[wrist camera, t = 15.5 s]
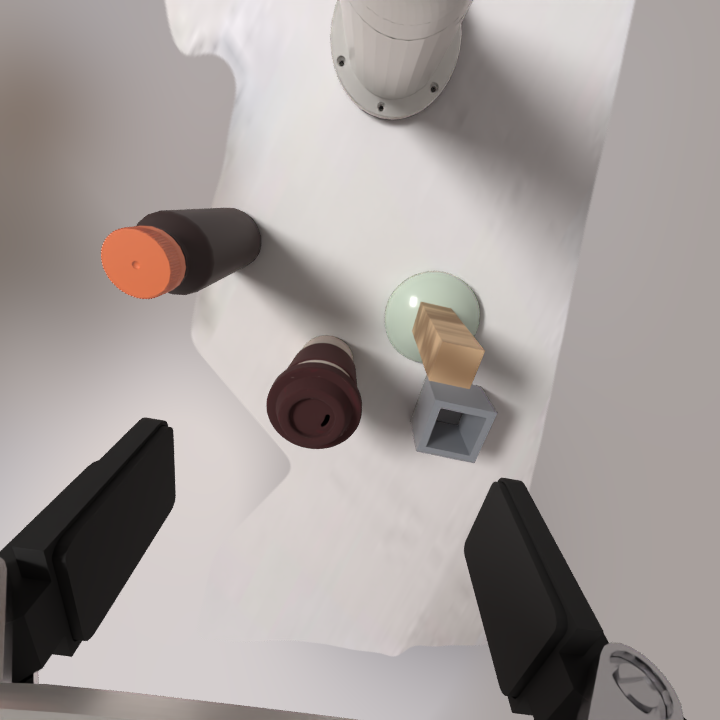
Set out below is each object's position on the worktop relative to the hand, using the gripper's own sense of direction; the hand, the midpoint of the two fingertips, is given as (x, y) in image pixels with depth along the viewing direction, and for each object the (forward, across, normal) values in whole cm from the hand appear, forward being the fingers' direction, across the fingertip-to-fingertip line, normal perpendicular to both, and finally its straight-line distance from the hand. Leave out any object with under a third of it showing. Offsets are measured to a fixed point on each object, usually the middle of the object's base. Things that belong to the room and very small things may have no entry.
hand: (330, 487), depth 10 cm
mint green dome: (+37, -10, +5) cm, 39 cm away
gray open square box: (+37, -16, +17) cm, 44 cm away
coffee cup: (+37, +2, +14) cm, 40 cm away
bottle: (+37, +15, 0) cm, 40 cm away
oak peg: (+36, -10, +5) cm, 38 cm away
